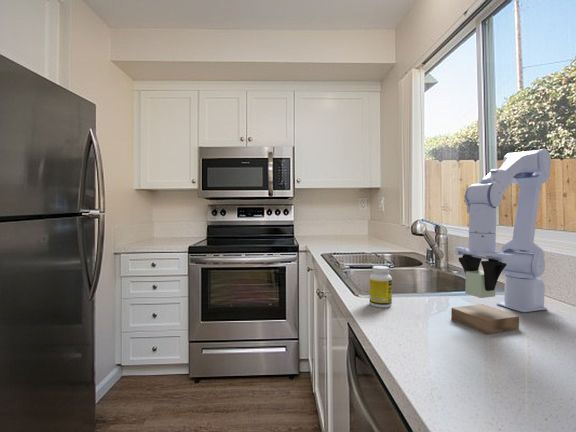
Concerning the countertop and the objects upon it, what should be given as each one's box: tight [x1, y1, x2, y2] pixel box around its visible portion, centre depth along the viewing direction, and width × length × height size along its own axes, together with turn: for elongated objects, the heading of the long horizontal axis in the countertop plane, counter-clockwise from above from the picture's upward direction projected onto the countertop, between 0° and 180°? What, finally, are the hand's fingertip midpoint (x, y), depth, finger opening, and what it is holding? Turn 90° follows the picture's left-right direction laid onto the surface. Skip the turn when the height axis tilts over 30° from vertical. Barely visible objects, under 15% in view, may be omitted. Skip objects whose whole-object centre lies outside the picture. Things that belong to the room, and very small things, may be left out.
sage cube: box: [464, 269, 496, 299], centre depth 82 cm, size 4×4×6 cm
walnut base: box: [450, 303, 520, 335], centre depth 81 cm, size 10×10×3 cm
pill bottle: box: [369, 265, 393, 309], centre depth 96 cm, size 6×6×11 cm
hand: (480, 287), depth 82 cm, fingers closed on sage cube, 4 cm apart
